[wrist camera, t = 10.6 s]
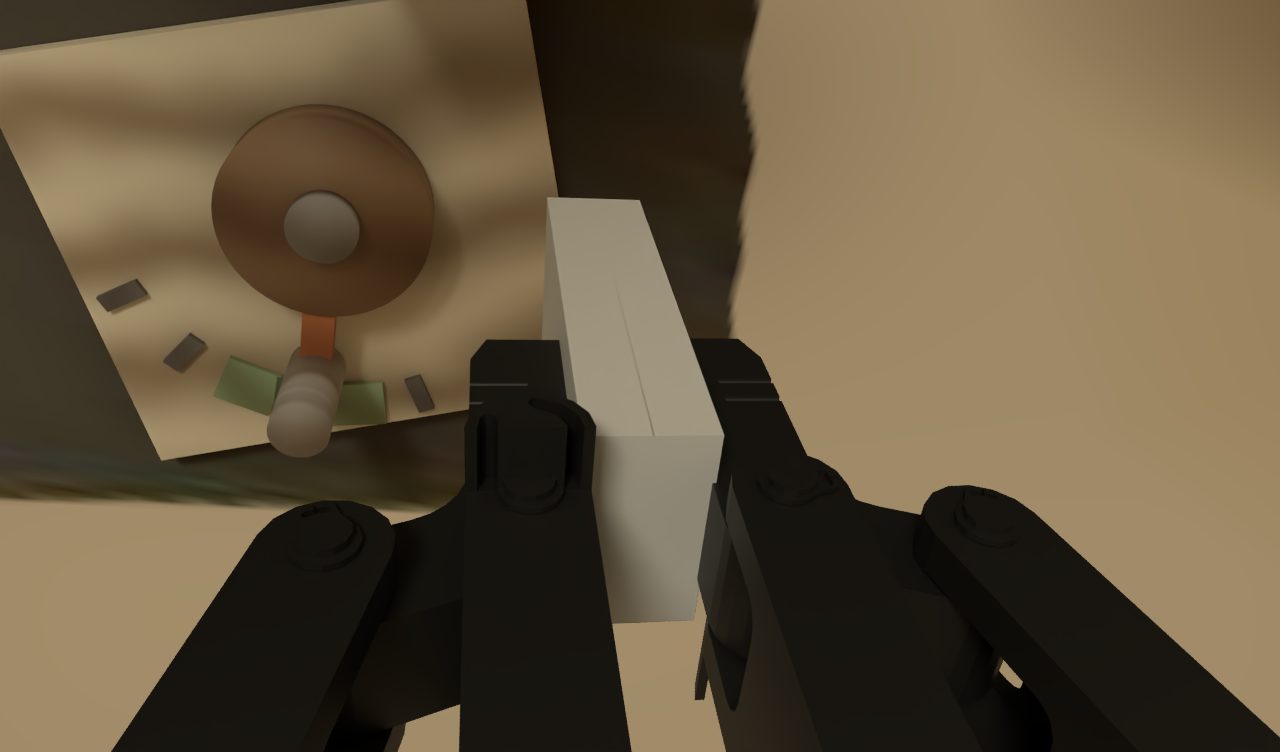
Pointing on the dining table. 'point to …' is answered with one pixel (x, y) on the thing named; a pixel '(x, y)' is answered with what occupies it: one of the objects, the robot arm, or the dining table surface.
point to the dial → (321, 241)
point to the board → (198, 146)
